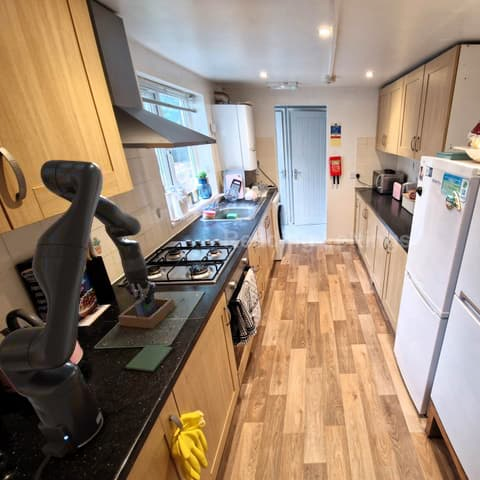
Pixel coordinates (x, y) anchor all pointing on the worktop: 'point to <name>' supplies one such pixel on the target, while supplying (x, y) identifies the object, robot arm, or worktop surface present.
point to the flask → (145, 306)
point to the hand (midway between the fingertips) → (145, 303)
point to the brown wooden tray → (147, 322)
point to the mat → (149, 358)
